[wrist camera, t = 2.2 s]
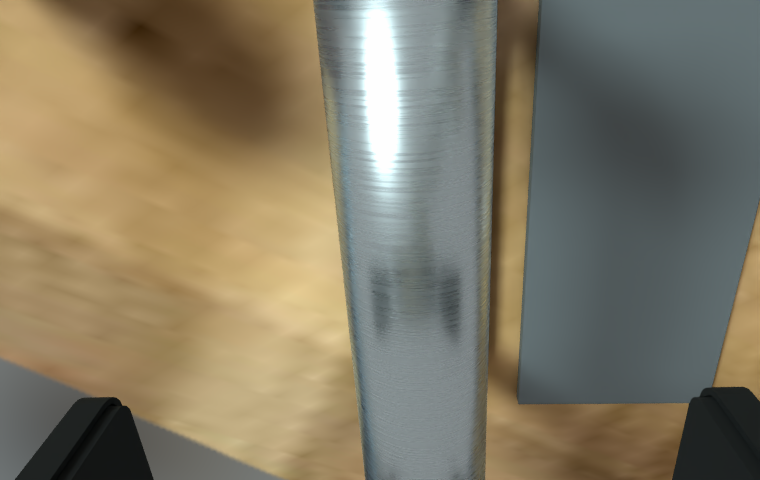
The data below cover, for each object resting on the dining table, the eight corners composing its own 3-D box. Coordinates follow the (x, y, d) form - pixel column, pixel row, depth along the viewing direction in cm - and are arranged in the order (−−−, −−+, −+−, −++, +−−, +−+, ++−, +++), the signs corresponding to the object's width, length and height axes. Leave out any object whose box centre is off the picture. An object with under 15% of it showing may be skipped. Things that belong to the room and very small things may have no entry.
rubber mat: (888, -355, 17) (903, -365, 17) (702, 395, 30) (707, 402, 30) (557, -318, 18) (561, -326, 18) (516, 396, 31) (518, 404, 31)
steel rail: (290, -388, 8) (229, -555, 6) (494, -415, 8) (532, -602, 5) (386, 596, 19) (381, 701, 16) (475, 599, 19) (485, 705, 16)
